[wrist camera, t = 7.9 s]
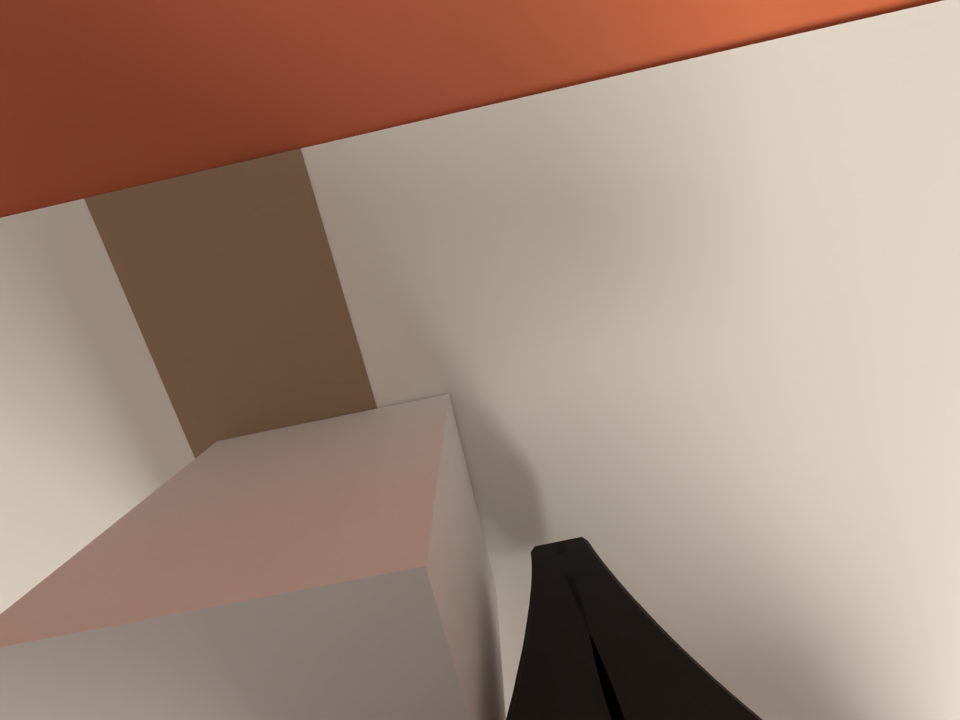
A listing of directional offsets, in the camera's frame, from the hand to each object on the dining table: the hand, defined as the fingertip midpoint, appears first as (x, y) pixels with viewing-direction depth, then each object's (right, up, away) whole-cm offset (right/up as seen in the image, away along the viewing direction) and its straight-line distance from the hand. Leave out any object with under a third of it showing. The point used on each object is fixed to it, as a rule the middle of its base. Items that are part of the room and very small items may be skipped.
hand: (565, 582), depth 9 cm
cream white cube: (-4, +1, +1) cm, 5 cm away
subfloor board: (+1, +1, +1) cm, 2 cm away
